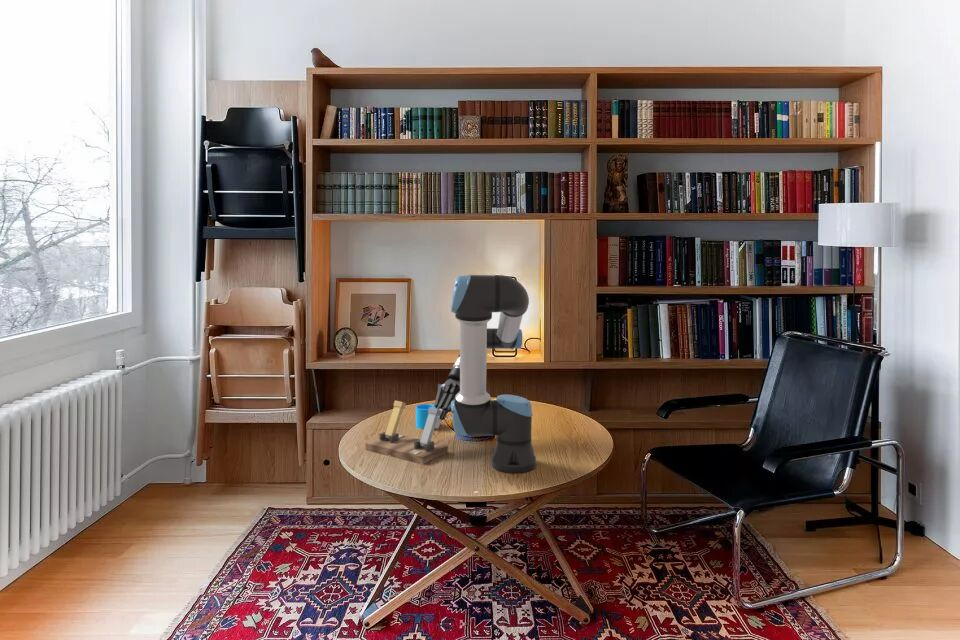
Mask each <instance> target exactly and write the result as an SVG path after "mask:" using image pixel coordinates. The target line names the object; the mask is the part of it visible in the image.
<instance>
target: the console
mask: <svg viewBox="0 0 960 640" xmlns="http://www.w3.org/2000/svg"><path fill="white" fill-rule="evenodd" d="M385 433H386V431H384V432H381V433H379V437H377V438H375V439H372V440H370V441H367V442H365V450H366V451H370V452H373V453H377V452H378V453H377V454H381V453H382V455H385V454H386V455H385V456H389V455H390V457H394V458H396V457H398V458H397V459H400V458H401V459H402V460H404V459H405V460H404V461H408V460H409V462H413V463H417V464H420V463H421V465H424V464H426V463H428V462H429V463H430V462H431V461H433V460H435V459H437V458H439V457H441V456H444V455H445V454H447V453H448V450H449V449H448V445H446V444H443V443H438V442H435V441H432V440H431V442H430V443H427V444H425V447H421V446H420V440H421V438H416V437H411V436H408V435H403V434H399V433H395V434H394V435H392V436H390V439H387V438H385ZM430 460H431V461H430Z"/></svg>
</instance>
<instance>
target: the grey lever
mask: <svg viewBox="0 0 960 640" xmlns="http://www.w3.org/2000/svg"><path fill="white" fill-rule="evenodd" d="M428 413H429V415H428V418H427V421H426V424H425V427H424V430H423V431H422V434H421V437H420V439H421V440H420V446H421V447H425V444H427V443H430V442H432V438H433V435H434V431H435V429H436V428H435V425H436V422H437V419H438V416H440V413H441V410H439V409H437V408H432V407H429V411H428Z"/></svg>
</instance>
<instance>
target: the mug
mask: <svg viewBox="0 0 960 640" xmlns="http://www.w3.org/2000/svg"><path fill="white" fill-rule="evenodd" d="M429 407H432V408H435V406H434V404H431V403H430V404H429V403H423V404H418V405H416V406H415V428H416V427H417V428H416V429H418V428H421V429H420V430H422V429H424V427H425V424H426V421H427V418H428V415H429V413H428V411H429Z"/></svg>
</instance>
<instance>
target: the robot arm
mask: <svg viewBox="0 0 960 640" xmlns="http://www.w3.org/2000/svg"><path fill="white" fill-rule="evenodd" d="M529 304H530V298H529V294H528V292H527V289H526V288H525V287H524V285H522V284H521V282H519V281H518V280H516V279H515V278H513V277H511V276H508V275H504V274H503V275H502V274H497V275H496V274H495V275H493V274H491V275H490V274H489V275H488V274H466V275H458V276H456V277H455V279H454V283H453V288H452V296H451V304H450V312H451V313H453V314H455V315H454V316H455V319H456V320H457V321H458V322H459V330H460V331H459V354H458V356H457V357H456V360H455V362H454V363H453V366H452V368H451V370H450V372H449V374H448V378H447V380H446V381H444V383H443V384H441V383H438V384H437V393H436V396H435V400H434V404H433V405H434V406H435V408H437V409H439V410H441V413H440V416H438V419H437V422H436V425H435V429H436V430H437V429H438V430H439V427H440V426H441V423H442V421H444V420H445V418H446V417H447V415H448V413H451V416H452V425H453V430H454V433H455V434H456V435H457V436H459V437H460V436H461V437H462V436H463V437H464V436H465V437H487V436H489V437H490V436H495V437H496V442H495V446H494V449H493V452H492V453H493V454H492V455H491V458H490V459H491V460H490V462H491V463H490V464H491V467H492V468H493V469H494V470H497V471H499V472H502V473H511V474H520V473H526V472H530V471H533V470H534V469H536V467H537V457H536V456H535V452H534V447H533V445H532V422H533V421H532V419H533V412H532V410H533V409H532V402H530V400H529V399H527V398H525V397H524V396H520V395H514V394H500V395H497V397H496V399H494V400H492V399H491V398H492V397H491V395H490V394H489V393H488V392H487V359H488V358H487V353H488V352H487V351H488V349H490V350H491V349H492V350H493V349H494V350H495V349H496V350H497V349H498V350H500V349H503V350H514V349H521V348H522V347H523V330H522V329H521V324H522V320H523V315H525V313H526V312H527V310H528V309H529ZM493 313H499V319H498V325H497V327H495V328H488V322H490V321H491V320H492V318H493Z"/></svg>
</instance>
